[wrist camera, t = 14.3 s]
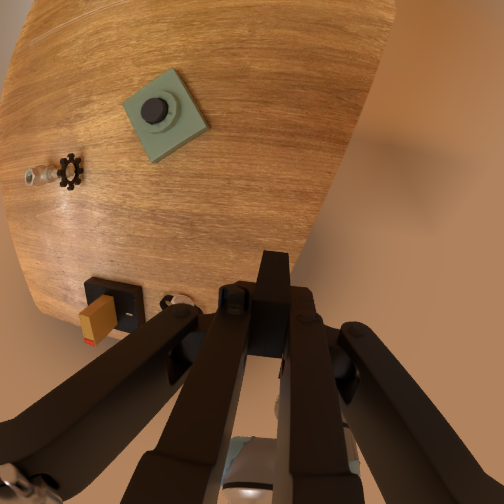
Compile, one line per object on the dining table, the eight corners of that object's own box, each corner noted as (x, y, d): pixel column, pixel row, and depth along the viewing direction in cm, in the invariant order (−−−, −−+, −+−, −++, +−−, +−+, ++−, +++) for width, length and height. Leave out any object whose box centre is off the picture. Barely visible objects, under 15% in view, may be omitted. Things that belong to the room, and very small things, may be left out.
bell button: (171, 113, 34) (166, 111, 32) (151, 127, 34) (146, 126, 33) (161, 95, 33) (156, 92, 31) (142, 109, 34) (136, 107, 32)
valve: (45, 190, 43) (83, 188, 42) (23, 195, 37) (60, 192, 36) (45, 159, 41) (84, 153, 40) (23, 161, 35) (60, 153, 34)
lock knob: (102, 294, 44) (77, 314, 37) (113, 296, 44) (88, 318, 36) (107, 321, 46) (84, 343, 38) (117, 324, 46) (95, 347, 38)
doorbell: (210, 128, 37) (203, 124, 33) (157, 162, 39) (145, 162, 36) (177, 71, 35) (167, 63, 31) (128, 106, 37) (116, 101, 33)
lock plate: (142, 286, 46) (134, 293, 43) (146, 327, 49) (139, 336, 46) (92, 276, 47) (83, 282, 44) (98, 315, 50) (90, 322, 47)
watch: (207, 303, 46) (201, 314, 42) (200, 324, 47) (194, 335, 44) (166, 286, 46) (158, 295, 42) (161, 307, 47) (153, 317, 44)
